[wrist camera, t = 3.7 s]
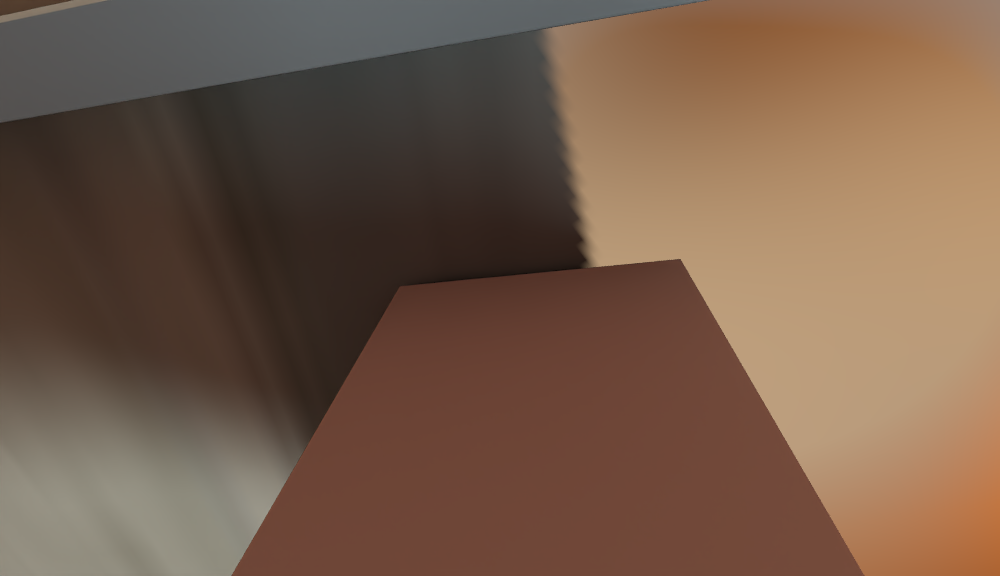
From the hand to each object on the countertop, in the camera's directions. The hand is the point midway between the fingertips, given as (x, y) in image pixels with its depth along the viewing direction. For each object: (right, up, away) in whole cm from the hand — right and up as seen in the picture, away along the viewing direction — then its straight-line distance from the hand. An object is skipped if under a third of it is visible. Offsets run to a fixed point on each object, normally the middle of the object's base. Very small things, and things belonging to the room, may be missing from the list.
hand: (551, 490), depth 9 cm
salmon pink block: (0, +1, +1) cm, 2 cm away
